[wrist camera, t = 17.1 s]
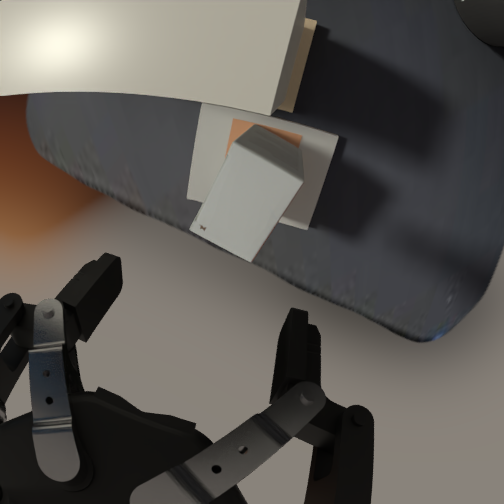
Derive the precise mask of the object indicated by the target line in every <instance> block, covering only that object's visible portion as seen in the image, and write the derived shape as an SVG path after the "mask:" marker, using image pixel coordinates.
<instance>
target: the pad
mask: <svg viewBox="0 0 504 504" xmlns="http://www.w3.org/2000/svg"><path fill="white" fill-rule="evenodd" d="M254 124H256V125H258V126H260V127H262V128H264V129H266V130H268V131H270V132H271V133H273V134H275V135H277V136H279V137H280V138H282V139H284V140H286V141H287V142H289V143H291V144H292V145H294V146H296V147H297V148H299V149H301V150H302V157H303V169H304V184H303V185H302V187H301V188H300V190H299V191H298V193H297V194H296V196H295V198H294V199H293V201H292V202H291V204H290V205H289V207H288V208H287V210H286V211H285V213H284V214H283V216H282V217H281V219H280V220H279V222H280V223H284V224H287V225H291V226H294V227H298V228H302V229H305V230H307V229H308V227H309V224H310V221H311V218H312V215H313V212H314V210H315V207H316V204H317V201H318V198H319V195H320V192H321V189H322V186H323V183H324V180H325V177H326V174H327V171H328V168H329V165H330V162H331V159H332V156H333V153H334V150H335V147H336V144H337V141H338V137H339V136H338V135H337V134H334V133H330V132H327V131H324V130H321V129H318V128H314V127H311V126H308V125H304V124H301V123H297V122H294V121H290V120H286V119H282V118H279V117H275V116H271V115H270V116H268V115H264V114H260V113H255V112H251V111H246V110H242V109H237V108H232V107H227V106H222V105H216V104H211V103H205V102H203V103H202V105H201V111H200V116H199V122H198V127H197V133H196V139H195V145H194V152H193V158H192V165H191V171H190V178H189V185H188V193H187V199H191V200H196V201H200V202H204V200H205V198H206V196H207V194H208V192H209V190H210V188H211V186H212V184H213V182H214V180H215V178H216V176H217V174H218V172H219V170H220V168H221V166H222V163H223V161H224V159H225V157H226V155H227V153H228V151H229V149H230V146H231V144H232V142H233V141H234V140H236V139H237V138H238V137H239V136H240V135H242V134H243V133H244V132H245V131H247V130H248V129H249V128H250V127H252V126H253V125H254Z"/></svg>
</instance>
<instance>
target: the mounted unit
mask: <svg viewBox="0 0 504 504" xmlns="http://www.w3.org/2000/svg"><path fill="white" fill-rule="evenodd" d="M306 5H307V0H2V1H0V96H5V95H14V94H25V93H40V92H114V93H130V94H142V95H153V96H162V97H170V98H178V99H185V100H192V101H199V102H205V103H211V104H216V105H222V106H227V107H232V108H237V109H242V110H246V111H251V112H255V113H260V114H264V115H268V116H270V115H271V114H272V113H273V112H274V111H275V110H276V109H280V110H284V111H288V112H291V113H293V109H294V105H295V101H296V98H297V94H298V90H299V86H300V83H301V79H302V75H303V72H304V68H305V64H306V60H307V57H308V53H309V49H310V45H311V42H312V38H313V34H314V30H315V27H316V23H317V21H315V20H311V19H307V18H305V15H306Z"/></svg>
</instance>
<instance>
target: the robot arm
mask: <svg viewBox="0 0 504 504" xmlns="http://www.w3.org/2000/svg"><path fill="white" fill-rule="evenodd" d="M454 2H455V5H456V8H457V11H458V13H459V15H460V17H461V18H462V20H463V21H464V23H465V24H466V26H467V27H468V28H469V29H470V30H471V32H472V33H473V34H475V35H476V36H477V37H478V38H479V39H481V40H482V41H483V42H485V43H487V44H489V45H492V46H503V47H504V0H454ZM122 284H123V279H122V267H121V259H120V257H117V256H115V255H112V254H109V253H104V254H103V255H102V256H101V257H100V258H99V259H98V260H97V261H95V260H93V261H91V262H89V263H87V264H85V265H84V266H83V267H82V268H81V269H80V271H79V272H78V273H77V274H76V275H75V276H74V277H73V279H71V280H70V281H69V283H68V284H67V285H66V286H65V287H64V288H63V289H62V291H61V292H60V293H59V294H58V295H57V296H56V298H55V299H45V300H43V301H41V302H40V303H39V304H38V305H32V304H26V303H23V301H22V299H21V297H20V295H18V294H16V293H9V294H7V295H5V296H3V297H2V298H1V299H0V350H1V347H2V346H3V344H4V343H5V341H6V340H7V338H8V337H9V335H10V334H11V336H12V337H11V338H10V340H9V341H8V343H7V344H6V346H5V347H4V349H3V350H2V352H1V353H0V504H247V502H246V500H245V498H244V497H243V495H242V493H241V491H240V490H239V488H238V486H237V483H238V482H240V481H241V480H242V479H244V478H245V477H246V476H248V475H249V474H250V473H252V472H253V471H254V470H255V469H257V468H258V467H259V466H260V465H261V464H263V463H264V462H265V461H266V460H267V459H269V458H270V457H271V456H272V455H273V454H275V453H276V452H277V451H278V450H279V449H280V448H281V447H283V446H284V445H285V444H286V443H287V442H288V441H289V440H290V439H292V437H296V438H298V439H300V440H303V441H305V442H307V443H309V444H311V445H313V453H312V460H311V466H310V473H309V479H308V485H307V491H306V496H305V502H304V504H371V493H372V479H373V459H374V457H373V456H374V419H373V416H372V414H371V412H370V411H369V410H368V409H367V408H365V407H363V406H360V405H352V406H350V407H348V408H345V407H343V406H341V405H338V404H336V403H334V402H332V401H330V400H329V399H328V398H327V397H326V396H325V393H324V391H323V390H322V389H321V355H320V354H321V347H320V346H321V335H320V333H319V331H318V329H317V326H315V325H312V324H308V312H307V311H304V310H300V309H296V308H291V309H290V311H289V313H288V315H287V318H286V320H285V322H284V325H283V327H282V329H281V332H280V335H279V339H278V345H277V352H276V360H275V368H274V375H273V382H272V389H271V396H270V402H269V404H272V405H271V406H269V407H268V408H267V409H265V410H264V411H263V412H261V413H260V414H255V415H254V416H252V417H251V418H249V419H248V420H247V421H245V422H244V423H242V424H241V425H240V426H239V427H237V428H236V429H234V430H233V431H231V432H230V433H229V434H227V435H226V436H224V437H223V438H221V439H220V440H218V441H217V442H215V443H214V444H213V442H212V441H211V440H210V439H209V438H207V437H206V436H205V435H204V434H202V433H201V432H199V431H198V430H196V429H195V426H196V423H193V422H190V421H187V420H183V419H180V418H177V417H174V416H171V415H163V414H154V413H147V412H142V411H140V410H139V409H137V408H136V407H135V406H133V405H132V404H130V403H129V402H127V401H126V400H125V399H123V398H122V397H120V396H119V395H116V394H114V393H112V392H109V391H107V390H105V389H103V388H100V387H98V388H97V390H96V392H91V391H86V392H85V391H84V388H83V385H82V382H81V378H80V371H79V365H78V358H77V350H76V345H75V343H76V342H77V340H78V339H80V340H82V341H84V342H87V341H88V339H89V338H90V336H91V334H92V333H93V331H94V330H95V328H96V327H97V325H98V324H99V322H100V321H101V320H102V318H103V317H104V315H105V314H106V312H107V311H108V309H109V308H110V306H111V305H112V304H113V302H114V301H115V299H116V298H117V297H118V295H119V293H120V292H121V289H122ZM28 361H29V379H30V393H31V404H32V411H31V412H29V413H26V414H24V415H21V416H19V417H17V418H14V419H11V420H9V421H6V420H7V416H6V407H5V403H6V401H7V399H8V397H9V395H10V393H11V391H12V389H13V388H14V385H15V384H16V382H17V380H18V379H19V377H20V375H21V373H22V371H23V370H24V368H25V366H26V365H27V363H28Z"/></svg>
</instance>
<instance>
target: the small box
mask: <svg viewBox="0 0 504 504" xmlns="http://www.w3.org/2000/svg"><path fill="white" fill-rule="evenodd" d="M303 184H304V169H303V157H302V150H301V149H299V148H297V147H296V146H294V145H292V144H291V143H289V142H287V141H286V140H284V139H282V138H280V137H279V136H277V135H275V134H273V133H271V132H270V131H268V130H266V129H264V128H262V127H260V126H258V125H256V124H254V125H253V126H252V127H250V128H249V129H248V130H247V131H245V132H244V133H243V134H242V135H240V136H239V137H238V138H237V139H236V140H234V141H233V142H232V144H231V146H230V149H229V151H228V153H227V155H226V157H225V159H224V161H223V163H222V166H221V168H220V170H219V172H218V174H217V176H216V178H215V180H214V182H213V184H212V186H211V188H210V190H209V192H208V194H207V196H206V198H205V200H204V202H203V204H202V206H201V208H200V210H199V212H198V214H197V216H196V218H195V219H194V221H193V223H192V225H191V227H190V230H191V231H192V232H194V233H196V234H198V235H200V236H202V237H203V238H205V239H207V240H209V241H211V242H213V243H215V244H217V245H218V246H220V247H222V248H224V249H226V250H228V251H230V252H232V253H233V254H235V255H237V256H239V257H241V258H243V259H245V260H247V261H249V262H252V261H253V260H254V258H255V257H256V255H257V254H258V252H259V251H260V249H261V248H262V246H263V245H264V243H265V242H266V240H267V238H268V237H269V235H270V234H271V232H272V231H273V229H274V228H275V226H276V225H277V223H278V222H279V220H280V219H281V217H282V216H283V214H284V213H285V211H286V210H287V208H288V207H289V205H290V204H291V202H292V201H293V199H294V198H295V196H296V194H297V193H298V191H299V190H300V188H301V187H302V185H303Z"/></svg>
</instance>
